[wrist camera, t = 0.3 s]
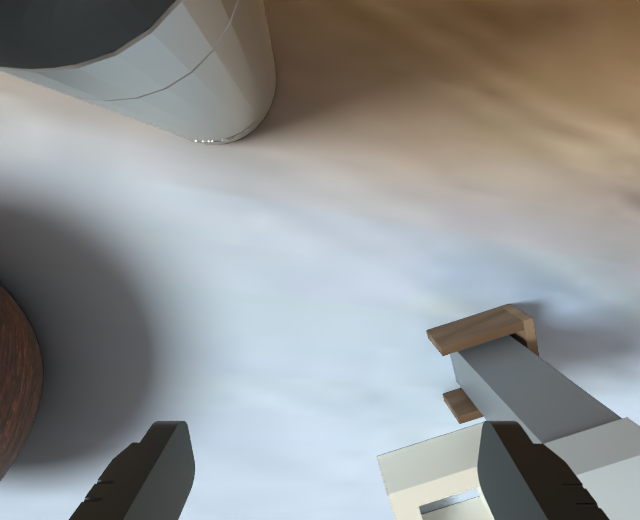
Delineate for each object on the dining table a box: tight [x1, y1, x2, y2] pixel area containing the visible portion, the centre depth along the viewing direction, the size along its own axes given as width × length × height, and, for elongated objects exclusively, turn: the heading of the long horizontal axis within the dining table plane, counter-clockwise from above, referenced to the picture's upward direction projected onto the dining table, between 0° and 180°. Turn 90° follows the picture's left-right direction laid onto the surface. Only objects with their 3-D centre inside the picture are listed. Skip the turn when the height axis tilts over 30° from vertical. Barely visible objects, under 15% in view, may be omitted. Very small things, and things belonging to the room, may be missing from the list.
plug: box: [450, 335, 640, 520], centre depth 23 cm, size 5×5×14 cm
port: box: [376, 422, 494, 520], centre depth 31 cm, size 11×11×5 cm
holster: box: [427, 304, 539, 424], centre depth 29 cm, size 8×8×3 cm
